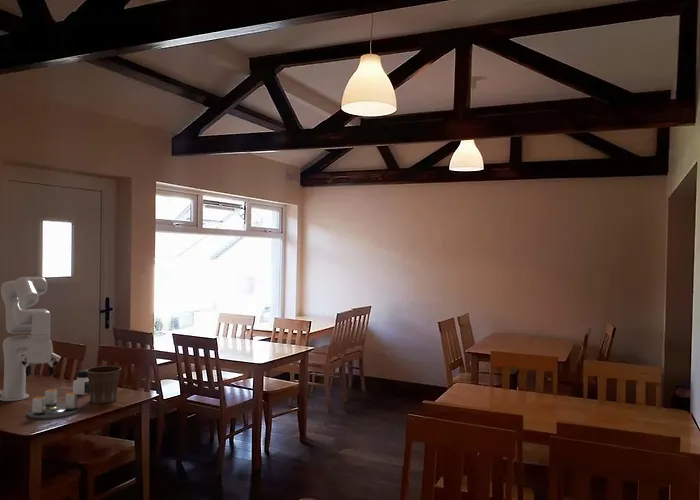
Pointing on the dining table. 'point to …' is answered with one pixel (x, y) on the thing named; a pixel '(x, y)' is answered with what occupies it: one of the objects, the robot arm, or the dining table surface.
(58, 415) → the grey round tray
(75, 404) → the white short cylinder
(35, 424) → the dining table surface
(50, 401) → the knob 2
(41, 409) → the knob
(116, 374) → the plant pot
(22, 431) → the dining table surface
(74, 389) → the medicine bottle
